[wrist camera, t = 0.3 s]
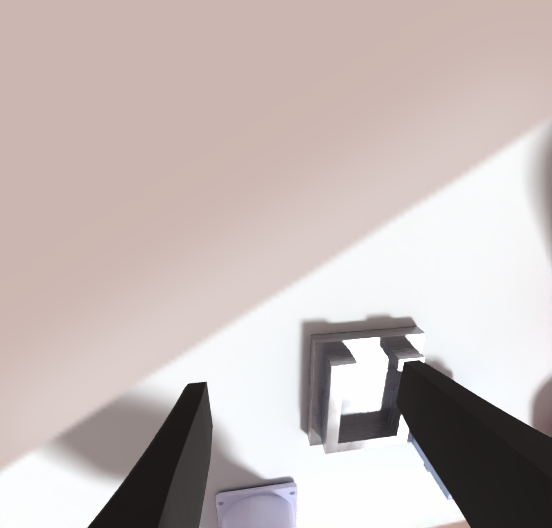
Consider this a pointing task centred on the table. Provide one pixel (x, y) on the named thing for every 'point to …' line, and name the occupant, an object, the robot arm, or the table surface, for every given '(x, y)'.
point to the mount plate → (359, 387)
